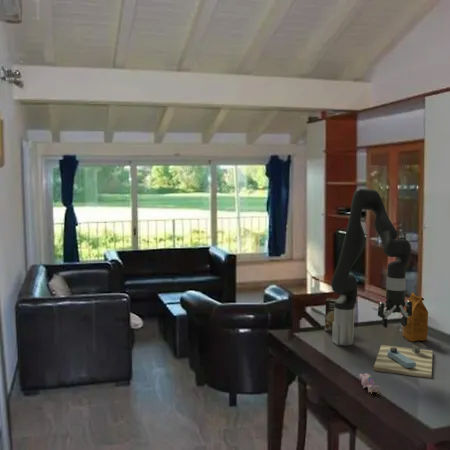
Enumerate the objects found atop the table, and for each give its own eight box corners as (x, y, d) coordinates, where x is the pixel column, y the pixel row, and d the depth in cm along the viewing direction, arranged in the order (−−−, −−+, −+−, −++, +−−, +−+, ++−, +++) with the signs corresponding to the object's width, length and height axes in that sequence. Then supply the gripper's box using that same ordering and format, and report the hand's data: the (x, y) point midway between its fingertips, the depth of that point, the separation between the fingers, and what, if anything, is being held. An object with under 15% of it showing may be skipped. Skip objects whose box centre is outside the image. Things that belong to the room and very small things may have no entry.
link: (385, 354, 237) (385, 350, 237) (395, 353, 238) (395, 349, 238) (405, 368, 221) (405, 363, 221) (416, 367, 222) (416, 362, 222)
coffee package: (419, 334, 273) (421, 291, 271) (429, 342, 261) (431, 297, 258) (399, 334, 273) (401, 291, 270) (409, 342, 260) (410, 297, 258)
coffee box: (324, 331, 278) (324, 300, 277) (326, 327, 284) (326, 297, 283) (342, 332, 275) (343, 301, 274) (343, 329, 281) (344, 299, 280)
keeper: (417, 355, 237) (418, 346, 237) (410, 351, 243) (410, 342, 243) (426, 355, 238) (426, 346, 238) (418, 350, 244) (418, 341, 244)
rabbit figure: (383, 399, 199) (370, 377, 214) (384, 385, 198) (371, 364, 212) (366, 400, 199) (354, 378, 213) (367, 385, 197) (355, 364, 212)
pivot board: (431, 378, 216) (431, 364, 215) (373, 370, 224) (374, 357, 224) (432, 354, 244) (432, 342, 244) (381, 347, 252) (381, 336, 252)
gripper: (406, 285, 227) (405, 323, 229) (375, 286, 224) (374, 325, 226) (416, 289, 220) (415, 328, 222) (384, 290, 217) (383, 330, 219)
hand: (394, 326), depth 224 cm, fingers open, 8 cm apart
